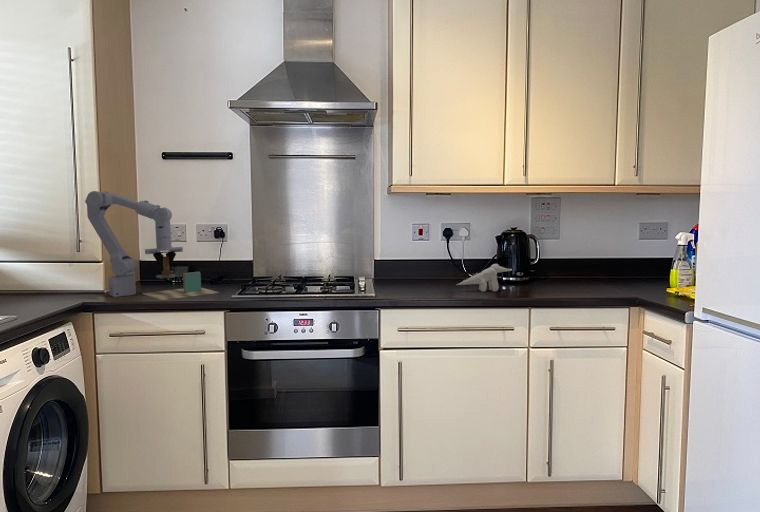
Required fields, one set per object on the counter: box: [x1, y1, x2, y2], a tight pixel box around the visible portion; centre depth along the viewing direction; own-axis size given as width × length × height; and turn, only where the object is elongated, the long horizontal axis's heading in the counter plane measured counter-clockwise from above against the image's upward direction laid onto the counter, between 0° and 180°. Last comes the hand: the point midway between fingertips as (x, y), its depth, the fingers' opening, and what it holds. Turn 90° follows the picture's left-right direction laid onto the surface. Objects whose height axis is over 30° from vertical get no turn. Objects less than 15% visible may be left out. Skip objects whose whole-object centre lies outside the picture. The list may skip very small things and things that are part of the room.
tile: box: [182, 271, 202, 293], centre depth 220 cm, size 7×2×8 cm, turn 133°
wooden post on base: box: [155, 255, 176, 280], centre depth 216 cm, size 6×5×8 cm
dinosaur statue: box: [456, 263, 513, 293], centre depth 218 cm, size 7×24×11 cm, turn 94°
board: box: [141, 287, 221, 301], centre depth 217 cm, size 24×22×1 cm
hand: (165, 270), depth 216 cm, fingers closed on wooden post on base, 2 cm apart
